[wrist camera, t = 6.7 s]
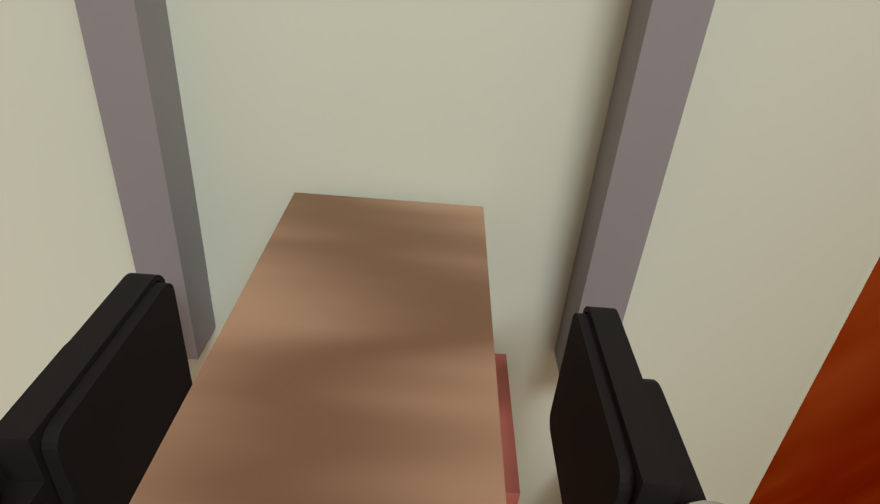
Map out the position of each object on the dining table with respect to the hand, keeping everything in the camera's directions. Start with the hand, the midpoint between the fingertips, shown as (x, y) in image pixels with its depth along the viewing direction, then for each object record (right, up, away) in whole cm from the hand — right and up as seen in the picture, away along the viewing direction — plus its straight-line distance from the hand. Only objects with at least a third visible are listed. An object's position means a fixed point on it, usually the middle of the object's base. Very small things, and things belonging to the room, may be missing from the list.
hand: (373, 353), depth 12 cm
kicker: (0, +1, +3) cm, 3 cm away
